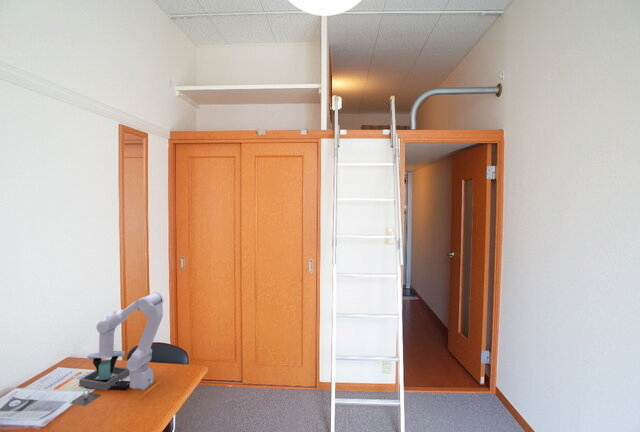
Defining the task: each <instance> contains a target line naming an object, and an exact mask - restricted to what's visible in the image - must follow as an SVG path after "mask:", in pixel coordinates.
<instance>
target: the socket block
mask: <svg viewBox="0 0 640 432" xmlns="http://www.w3.org/2000/svg"><path fill="white" fill-rule="evenodd" d="M110 360H111V359H103V360H101V363H100V364H99V376H98V380H97V381H103V380H111V379H110V378H111V377H112V374H113V373H110V370H111V362H110Z"/></svg>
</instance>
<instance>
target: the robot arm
mask: <svg viewBox="0 0 640 432" xmlns="http://www.w3.org/2000/svg"><path fill="white" fill-rule="evenodd" d="M164 302H165V301H164V298H163V296H162V295H161V294H160V293H159V292H153V293H151V294H149V295H146V296H143V297H140V298H139V299H136V300H135V301H133V302H132V303H131V304H129V305H128V306H127V307H126V308H124V309H116V310H114V311H113V313H112V314H111V315H108V316H106V319H103V320H100V321H98V323H97V325H96V330H97V333H99V339H98V340H99V341H98V342H99V343H98V352H95V353H90V354H87V356H86V357H87V358H86V360H87V361H91V360H92V365H93V366H94V368H95V370H97V372H98V374H99V364H100V363H101V361H103V360H107V358H110V359H109V360H110V362H111V370H110V373H112V372H113V369H114V366H116V362H117V360H118V358H119V357H121V358H122V357H124V356H125V350H114V349H115V348H114V347H115V346H114V345H115V344H114V342H115V341H114V340H115V331H116V328H117V327H118V326H119V325H120V324H122V323H124V322H125V321H127V319H128V317H129V316H130V314H133V313H134V312H136V311H141V312H142V314H143V315H145V317H146V318H148V319H147V321H146V325H145V327H144V330H143V332H142V335H141V337H140V340H139V342H138V345H137V347H136V349H135V350H134V352H133V353H132V354H131V356H130V357H129V359H128V360H127V361H126V365H125V366H126V368H128V370H129V371H130V376H129V388H131V389H133V390H137V389H138V390H144V391H145V390H146V389H147V388H149V387H150V386H151V385H152V384H153V383H154V369H152V368H150V366H149V365H150V364H149V363H150V362H151V360H152V358H153V357H152V352H153V349H152V345H153V342H154V339H155V337H156V334H157V332H158V329H159V326H160V324H161V322H162V319H163V316H164V309H163V308H164V307H163V304H164ZM112 374H113V373H112Z"/></svg>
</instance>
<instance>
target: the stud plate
mask: <svg viewBox="0 0 640 432" xmlns="http://www.w3.org/2000/svg"><path fill="white" fill-rule="evenodd" d="M101 396H102V394H101V393H100V394H99V393H93V392H90V391H89V390H85V391H83V393H82V394H81V395H79V396H77V397H76V398H74V399H73V400H71V401H72V402H71V401H70V402H71V403H70V404H73V405H77V406H83V407H86V406H88V405H90V403H92V402H93V401H95V400H97V399H98V398H100V397H101Z"/></svg>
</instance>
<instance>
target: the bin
mask: <svg viewBox="0 0 640 432" xmlns="http://www.w3.org/2000/svg"><path fill="white" fill-rule="evenodd" d="M112 374H115V375H116V376H113V377H112V378H111V379H108V380H107V381H106V382H105V381H101V380H94V379H96V378H99V374H98V372H97V369H95V370H94V371H92V372H89V373H88V374H87V375H85V376H83V377H81V378H80V379H79V383H78V384H79V385H78V387H81V388H82V387H83V388H87V389H94V390H101V391H107V390H109V389H111V388H112V387H114V386H115V385H116V384H115V383H116V382H117V381H119V380H121V381H123V380H124V379H126V378H127V377H130V376H129V375H130V371H129V370H128V368H127V367H122V366H116V365H115V366H114V369H113V372H112ZM123 378H124V379H123ZM92 379H93V380H92ZM119 382H120V381H119ZM114 384H115V385H114ZM113 385H114V386H113ZM111 386H112V387H111Z"/></svg>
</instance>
